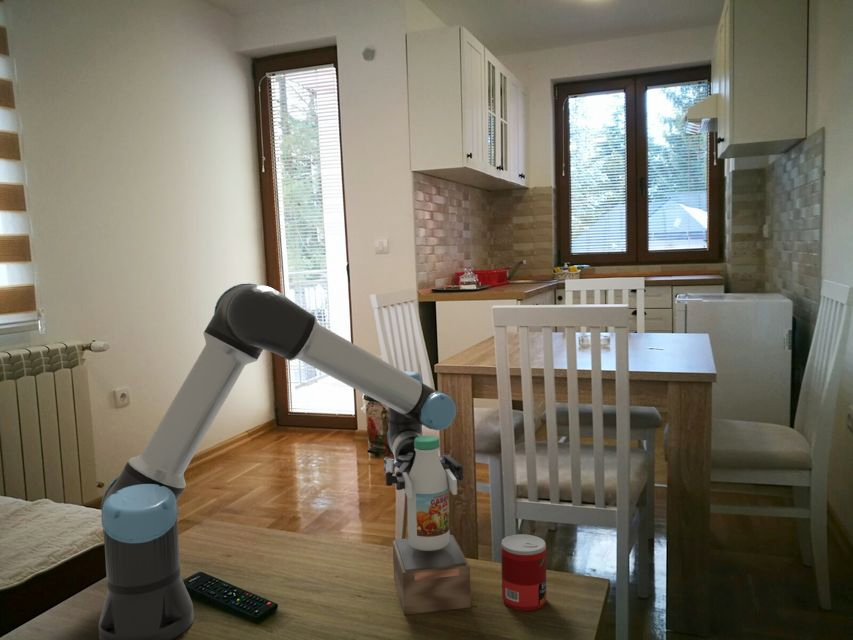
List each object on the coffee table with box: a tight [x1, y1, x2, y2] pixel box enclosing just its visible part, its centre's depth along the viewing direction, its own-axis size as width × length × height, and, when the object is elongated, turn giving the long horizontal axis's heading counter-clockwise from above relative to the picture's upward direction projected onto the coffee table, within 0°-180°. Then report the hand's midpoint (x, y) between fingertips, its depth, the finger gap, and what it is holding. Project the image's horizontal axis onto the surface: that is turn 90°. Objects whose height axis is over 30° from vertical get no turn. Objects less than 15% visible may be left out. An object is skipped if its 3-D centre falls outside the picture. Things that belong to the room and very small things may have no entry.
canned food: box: [500, 533, 547, 612], centre depth 121 cm, size 8×8×11 cm
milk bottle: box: [406, 435, 451, 551], centre depth 124 cm, size 8×8×20 cm
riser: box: [392, 533, 472, 616], centre depth 125 cm, size 12×14×8 cm
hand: (432, 489), depth 119 cm, fingers closed on milk bottle, 7 cm apart
